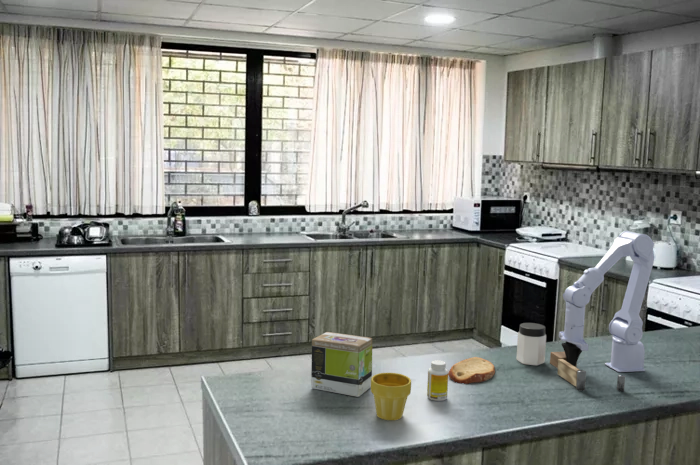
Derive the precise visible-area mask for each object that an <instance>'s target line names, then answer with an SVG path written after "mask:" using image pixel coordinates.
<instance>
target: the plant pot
mask: <svg viewBox="0 0 700 465" xmlns="http://www.w3.org/2000/svg"><path fill="white" fill-rule="evenodd" d="M411 391H412V379H411V378H410V377H409V376H407V375H405V374H402V373H398V372H380V373H375V374H374V375H373V376H372V378H371V387H370V392H371V393H372V395H373V399H374V406H375V412H376V413H375V414H376V416H377V417H378V418H379V419H381V420H384V421H397V420H400V419H402V418H403V414H404V411H405V408H406V403H407V400H408V397H409V396H410V395H411Z"/></svg>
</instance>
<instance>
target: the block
mask: <svg viewBox="0 0 700 465" xmlns="http://www.w3.org/2000/svg"><path fill="white" fill-rule="evenodd" d="M558 359H564V360H565V361H567V360H566V355H565V352H564V351H551V352H550V357H549V360H550V361H549V364H550V365H551V366H554V367H555V368H556V369H558ZM577 364H578V362H577V363H576V366H575V367H576V368H577V366H578V365H577Z"/></svg>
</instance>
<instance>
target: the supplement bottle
mask: <svg viewBox="0 0 700 465" xmlns="http://www.w3.org/2000/svg"><path fill="white" fill-rule="evenodd" d="M446 365H447V363H446V362H445V361H444V360H440V359H439V360H437V359H436V360H432V361H431V362H430V367H429V369H428V370H427V386H426V387H427V388H426V389H427V392H426V397H427V399H429V400H431V401H435V402H443V401H445V400H447V399H448V389H449V388H448V387H449V385H448V384H449V375H448V373H449V370H448V369H447V368H446V367H447V366H446Z"/></svg>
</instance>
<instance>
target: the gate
mask: <svg viewBox="0 0 700 465" xmlns="http://www.w3.org/2000/svg"><path fill="white" fill-rule="evenodd" d="M578 370H580V368H577V367H575V366H573V365H571V364H570V363H568V362H567V361H565V360H564V359H558V368H557V373H556V374H557V375H558V376H559V377H561V378H562V379H564V380H565V381H566V382H568V383H569V384H571V385H573V386H574V387H576V383H577V371H578Z"/></svg>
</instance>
